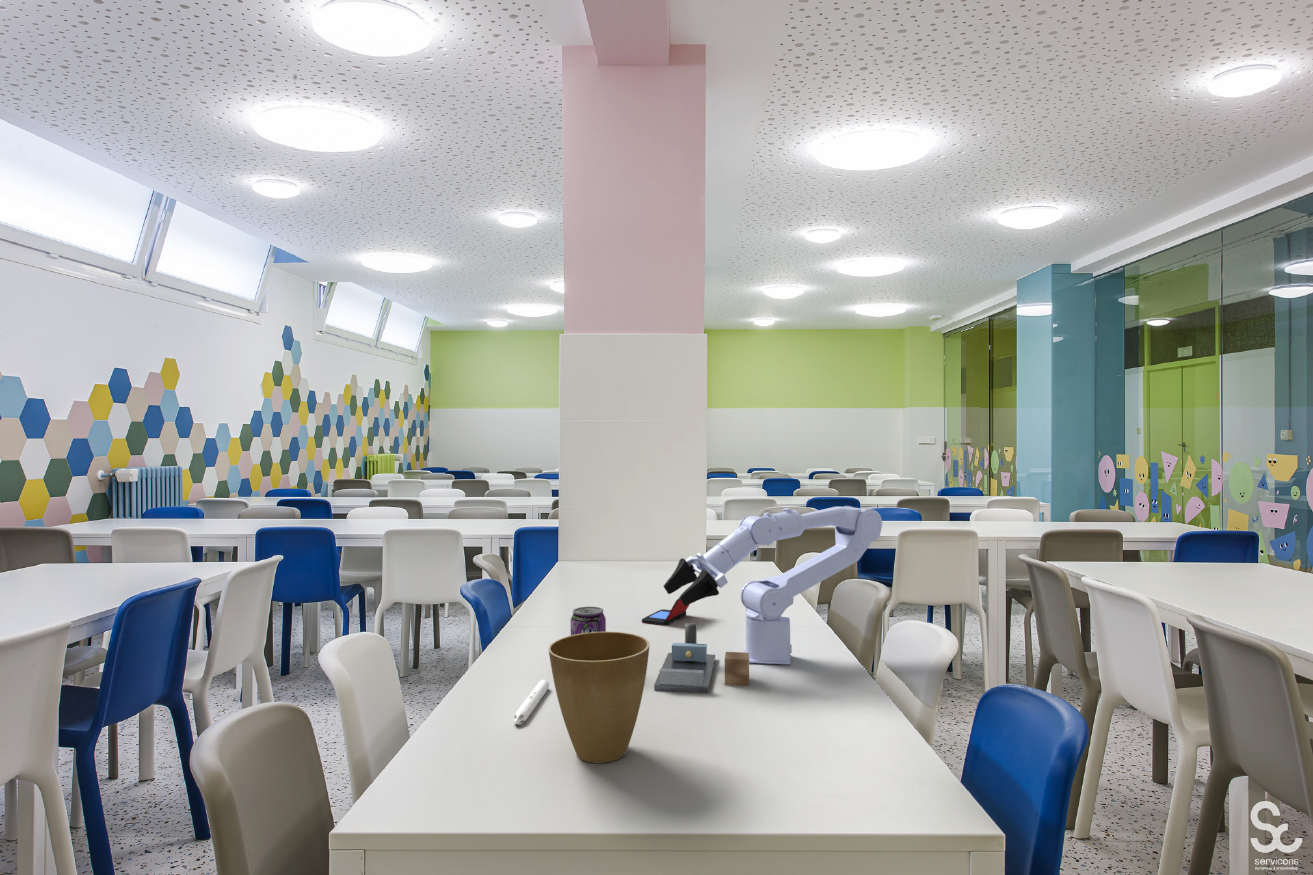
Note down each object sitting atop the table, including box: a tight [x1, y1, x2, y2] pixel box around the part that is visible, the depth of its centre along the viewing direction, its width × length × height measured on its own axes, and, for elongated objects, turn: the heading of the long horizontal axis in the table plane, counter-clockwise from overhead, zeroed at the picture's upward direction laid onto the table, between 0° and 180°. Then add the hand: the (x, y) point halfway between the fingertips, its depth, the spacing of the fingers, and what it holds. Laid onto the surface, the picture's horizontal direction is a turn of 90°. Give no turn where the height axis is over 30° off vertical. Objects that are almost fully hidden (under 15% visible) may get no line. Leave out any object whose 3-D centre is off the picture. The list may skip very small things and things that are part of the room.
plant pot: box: [547, 631, 650, 764], centre depth 104 cm, size 15×15×16 cm
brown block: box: [724, 651, 750, 687], centre depth 135 cm, size 4×4×5 cm
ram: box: [671, 622, 708, 662], centre depth 145 cm, size 6×7×6 cm
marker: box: [512, 679, 550, 726], centre depth 122 cm, size 18×2×2 cm, turn 175°
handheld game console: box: [641, 597, 691, 627], centre depth 182 cm, size 12×11×7 cm
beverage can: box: [570, 606, 607, 636], centre depth 142 cm, size 7×7×12 cm
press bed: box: [653, 652, 716, 694], centre depth 139 cm, size 20×10×4 cm, turn 171°
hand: (673, 595), depth 142 cm, fingers open, 7 cm apart
